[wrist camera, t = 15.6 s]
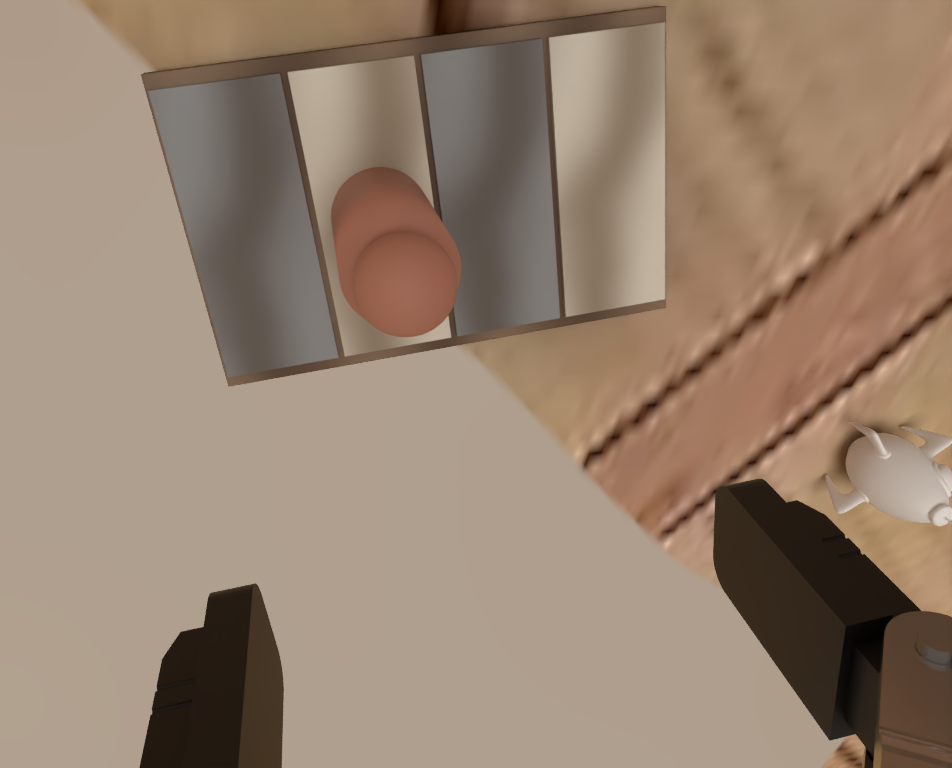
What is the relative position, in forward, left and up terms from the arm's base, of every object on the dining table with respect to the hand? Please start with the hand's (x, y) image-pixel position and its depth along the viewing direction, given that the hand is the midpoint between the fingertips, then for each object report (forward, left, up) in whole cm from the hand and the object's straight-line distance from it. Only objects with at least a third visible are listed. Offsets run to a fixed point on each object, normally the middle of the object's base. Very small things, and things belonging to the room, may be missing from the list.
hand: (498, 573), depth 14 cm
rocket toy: (-27, +19, -26) cm, 42 cm away
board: (-3, 0, -26) cm, 26 cm away
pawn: (0, 0, -25) cm, 25 cm away
